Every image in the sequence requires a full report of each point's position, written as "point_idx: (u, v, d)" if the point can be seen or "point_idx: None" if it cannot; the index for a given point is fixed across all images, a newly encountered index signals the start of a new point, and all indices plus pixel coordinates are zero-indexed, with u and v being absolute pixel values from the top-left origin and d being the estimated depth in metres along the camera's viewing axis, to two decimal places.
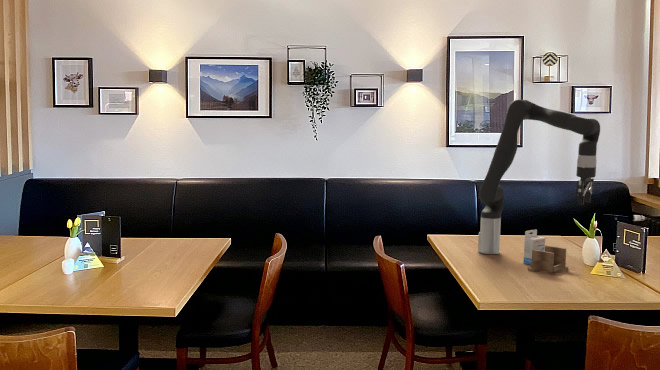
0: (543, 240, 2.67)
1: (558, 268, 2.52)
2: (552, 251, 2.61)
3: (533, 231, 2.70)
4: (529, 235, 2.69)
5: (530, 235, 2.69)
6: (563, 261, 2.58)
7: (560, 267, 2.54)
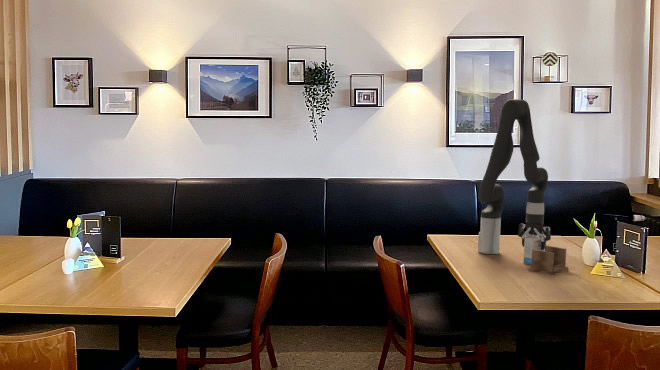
0: None
1: (558, 268, 2.52)
2: (552, 251, 2.61)
3: None
4: (529, 235, 2.69)
5: (530, 235, 2.69)
6: (563, 261, 2.58)
7: (560, 267, 2.54)
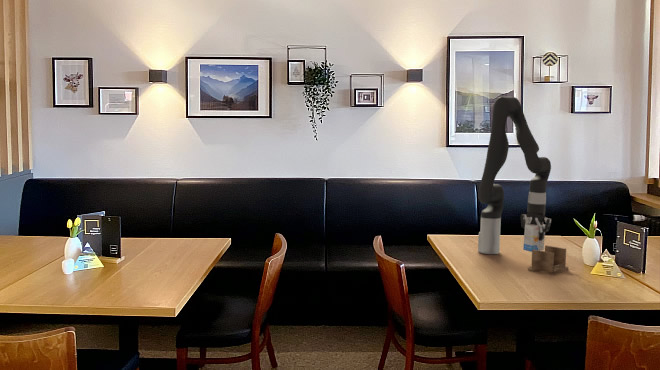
0: None
1: (558, 268, 2.52)
2: (552, 251, 2.61)
3: None
4: None
5: None
6: (563, 261, 2.58)
7: (560, 267, 2.54)
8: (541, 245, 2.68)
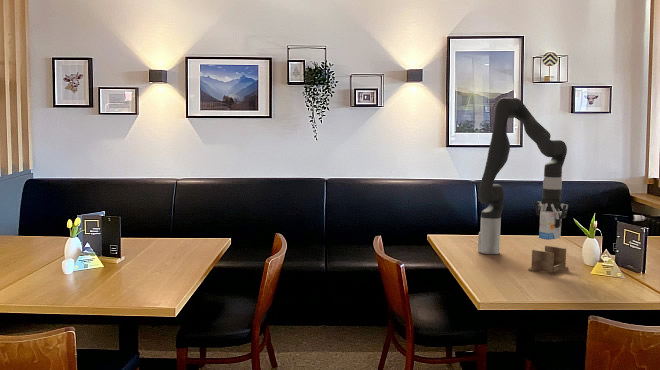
0: None
1: (558, 268, 2.52)
2: (552, 251, 2.61)
3: None
4: None
5: None
6: (563, 261, 2.58)
7: (560, 267, 2.54)
8: (558, 233, 2.55)
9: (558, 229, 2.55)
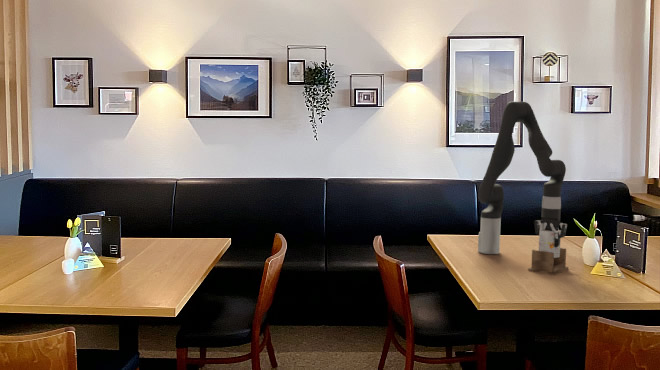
0: None
1: (558, 268, 2.52)
2: None
3: None
4: None
5: None
6: (563, 261, 2.58)
7: (560, 267, 2.54)
8: (557, 252, 2.56)
9: (557, 248, 2.55)
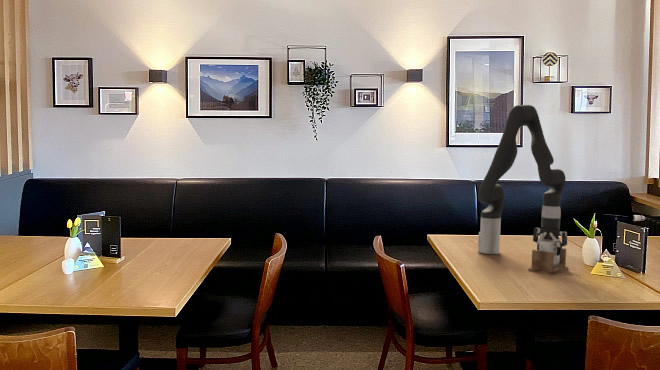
0: None
1: (558, 268, 2.52)
2: None
3: None
4: (544, 238, 2.57)
5: None
6: (563, 261, 2.58)
7: (560, 267, 2.54)
8: (556, 262, 2.56)
9: (557, 258, 2.56)
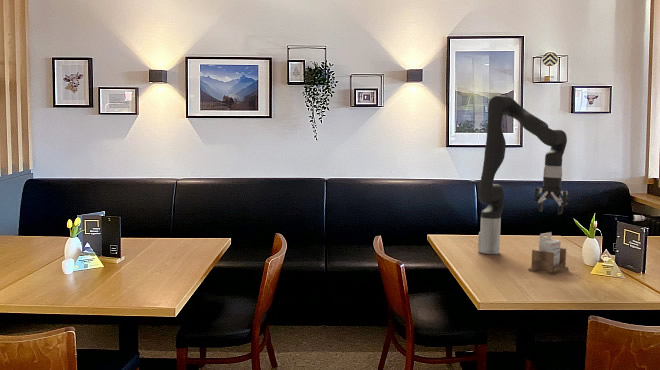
0: (558, 243, 2.56)
1: (558, 268, 2.52)
2: None
3: (548, 234, 2.58)
4: (544, 238, 2.57)
5: (545, 238, 2.57)
6: (563, 261, 2.58)
7: (560, 267, 2.54)
8: (556, 262, 2.56)
9: (557, 258, 2.56)
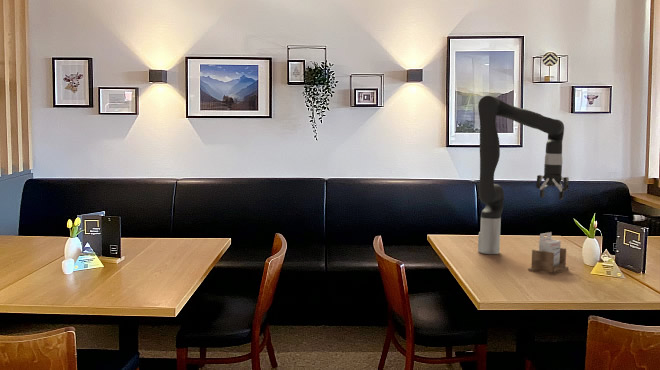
0: (558, 243, 2.56)
1: (558, 268, 2.52)
2: None
3: (548, 234, 2.58)
4: (544, 238, 2.57)
5: (545, 238, 2.57)
6: (563, 261, 2.58)
7: (560, 267, 2.54)
8: (556, 262, 2.56)
9: (557, 258, 2.56)
